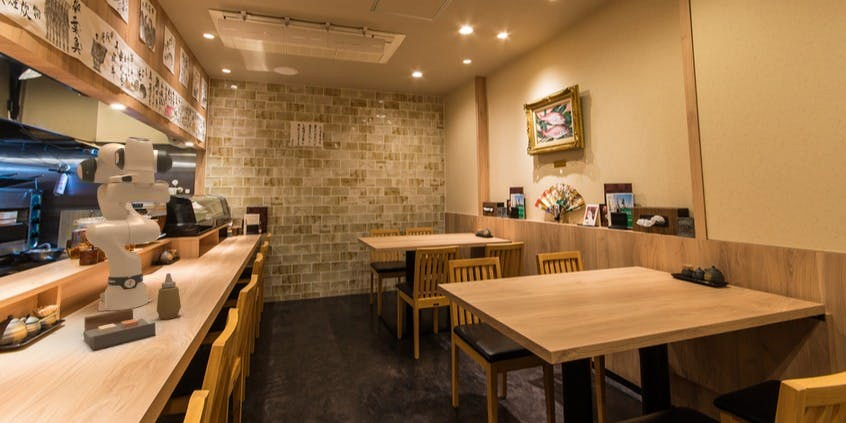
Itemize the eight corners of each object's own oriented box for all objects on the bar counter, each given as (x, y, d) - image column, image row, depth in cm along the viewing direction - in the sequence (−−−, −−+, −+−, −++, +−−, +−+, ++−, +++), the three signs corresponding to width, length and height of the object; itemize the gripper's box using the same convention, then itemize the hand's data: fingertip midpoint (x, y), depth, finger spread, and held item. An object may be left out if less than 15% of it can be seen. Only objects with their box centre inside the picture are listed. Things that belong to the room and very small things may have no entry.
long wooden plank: (84, 333, 124) (84, 317, 124) (130, 323, 135) (130, 308, 135) (86, 335, 122) (86, 319, 122) (133, 325, 133) (132, 309, 133)
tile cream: (98, 331, 119) (98, 326, 118) (113, 327, 122) (113, 323, 122) (101, 333, 116) (101, 329, 116) (116, 330, 119) (116, 325, 119)
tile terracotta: (120, 326, 123) (120, 321, 123) (135, 322, 127) (134, 318, 127) (124, 328, 121) (124, 324, 121) (138, 325, 124) (138, 321, 124)
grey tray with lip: (83, 340, 118) (83, 327, 118) (142, 326, 131) (142, 314, 131) (94, 351, 110) (93, 337, 110) (155, 335, 123) (155, 323, 122)
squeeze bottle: (185, 314, 145) (185, 271, 145) (170, 321, 137) (169, 276, 137) (168, 313, 146) (167, 271, 146) (151, 320, 138) (150, 275, 138)
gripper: (164, 180, 146) (164, 213, 146) (103, 177, 127) (104, 215, 127) (173, 180, 143) (173, 213, 144) (113, 177, 125) (113, 215, 125)
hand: (140, 214), depth 135 cm, fingers open, 8 cm apart
